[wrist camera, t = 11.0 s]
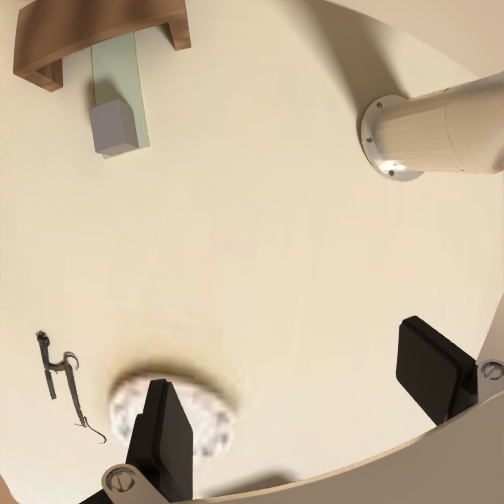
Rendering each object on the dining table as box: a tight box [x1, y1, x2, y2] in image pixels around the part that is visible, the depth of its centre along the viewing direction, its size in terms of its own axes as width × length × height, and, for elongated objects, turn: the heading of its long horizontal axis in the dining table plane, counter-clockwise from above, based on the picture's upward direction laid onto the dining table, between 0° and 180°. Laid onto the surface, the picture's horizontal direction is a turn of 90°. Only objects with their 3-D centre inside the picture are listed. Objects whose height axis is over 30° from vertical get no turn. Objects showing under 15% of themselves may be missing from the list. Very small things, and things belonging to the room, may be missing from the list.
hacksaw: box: [37, 333, 106, 444], centre depth 40 cm, size 24×10×2 cm, turn 170°
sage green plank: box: [90, 32, 150, 159], centre depth 28 cm, size 6×22×7 cm, turn 11°
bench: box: [13, 0, 191, 92], centre depth 25 cm, size 20×10×10 cm, turn 101°
